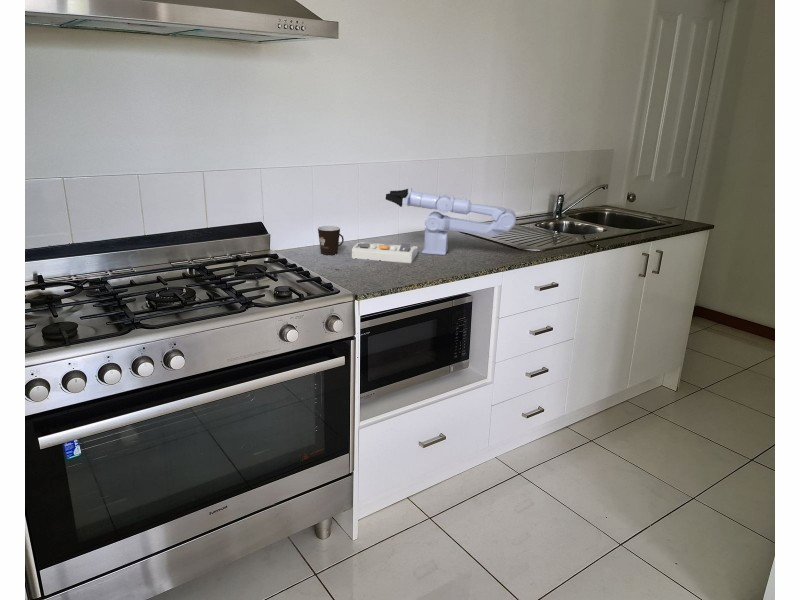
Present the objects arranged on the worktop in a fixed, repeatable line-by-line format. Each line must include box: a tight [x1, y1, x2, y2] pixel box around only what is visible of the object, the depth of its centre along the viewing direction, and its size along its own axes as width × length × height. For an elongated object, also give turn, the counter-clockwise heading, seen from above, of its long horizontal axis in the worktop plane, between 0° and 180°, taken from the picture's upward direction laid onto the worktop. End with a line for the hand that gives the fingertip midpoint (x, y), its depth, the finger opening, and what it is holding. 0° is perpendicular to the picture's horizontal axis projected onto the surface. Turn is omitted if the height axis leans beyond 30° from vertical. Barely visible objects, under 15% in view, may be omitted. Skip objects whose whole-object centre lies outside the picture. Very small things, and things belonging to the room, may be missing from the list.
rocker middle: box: [378, 245, 390, 250], centre depth 220 cm, size 3×6×2 cm, turn 169°
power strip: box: [351, 241, 419, 264], centre depth 223 cm, size 23×14×4 cm, turn 79°
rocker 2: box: [399, 243, 411, 252], centre depth 219 cm, size 3×6×2 cm, turn 169°
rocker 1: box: [358, 242, 370, 248], centre depth 221 cm, size 3×6×2 cm, turn 169°
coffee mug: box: [317, 225, 345, 256], centre depth 222 cm, size 12×9×10 cm
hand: (387, 195), depth 228 cm, fingers open, 7 cm apart
